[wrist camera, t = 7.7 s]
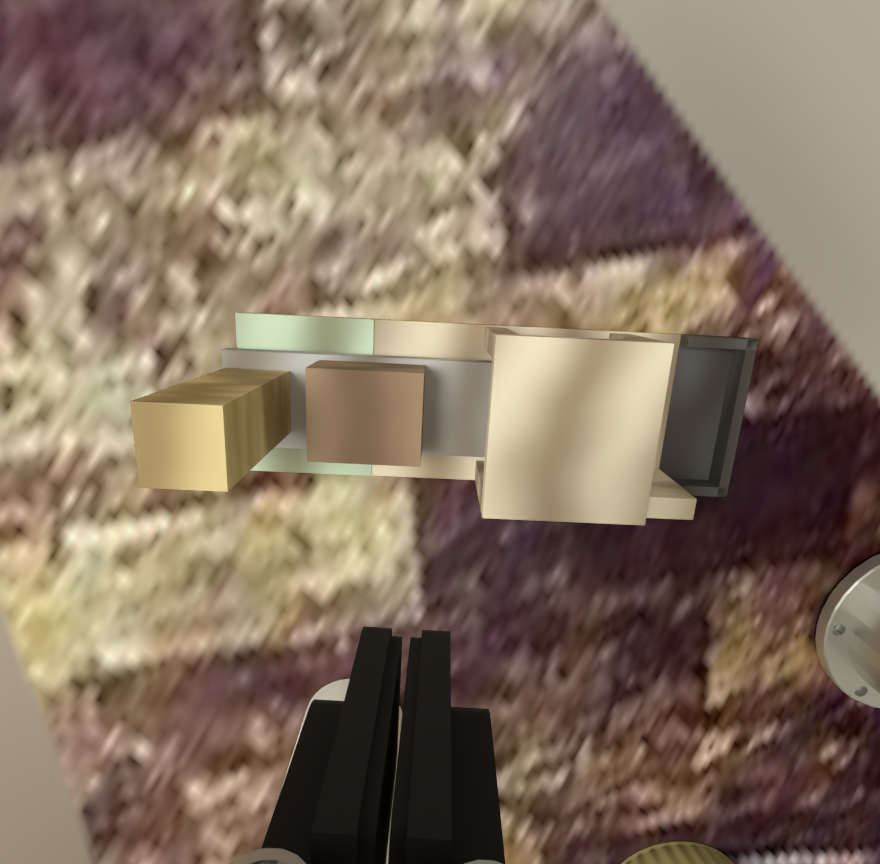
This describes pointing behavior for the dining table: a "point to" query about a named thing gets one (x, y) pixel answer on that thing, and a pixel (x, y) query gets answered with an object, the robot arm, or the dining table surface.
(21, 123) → the dining table surface
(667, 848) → the potted cactus
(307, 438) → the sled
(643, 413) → the tunnel
